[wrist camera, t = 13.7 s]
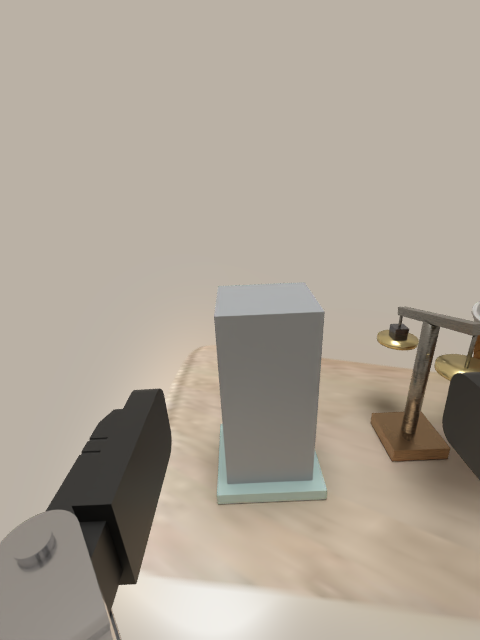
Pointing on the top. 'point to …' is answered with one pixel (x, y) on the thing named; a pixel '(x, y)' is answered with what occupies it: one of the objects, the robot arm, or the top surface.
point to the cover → (269, 380)
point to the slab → (267, 486)
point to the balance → (421, 385)
